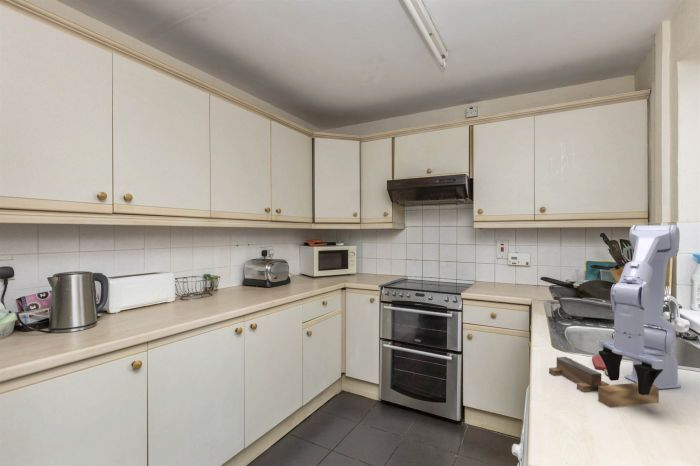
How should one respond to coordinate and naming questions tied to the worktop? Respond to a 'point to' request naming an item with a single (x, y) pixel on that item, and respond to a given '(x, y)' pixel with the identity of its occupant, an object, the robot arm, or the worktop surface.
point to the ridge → (578, 374)
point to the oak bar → (626, 395)
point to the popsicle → (599, 364)
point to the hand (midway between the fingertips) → (628, 386)
